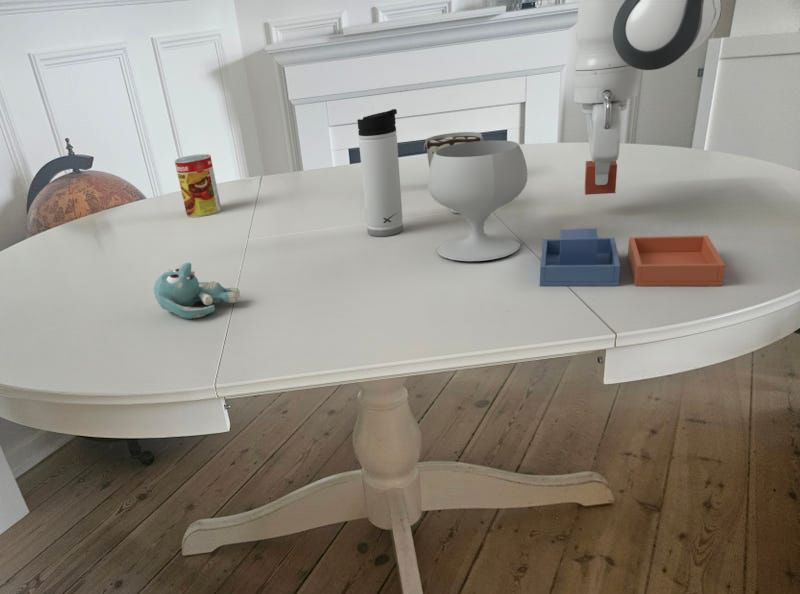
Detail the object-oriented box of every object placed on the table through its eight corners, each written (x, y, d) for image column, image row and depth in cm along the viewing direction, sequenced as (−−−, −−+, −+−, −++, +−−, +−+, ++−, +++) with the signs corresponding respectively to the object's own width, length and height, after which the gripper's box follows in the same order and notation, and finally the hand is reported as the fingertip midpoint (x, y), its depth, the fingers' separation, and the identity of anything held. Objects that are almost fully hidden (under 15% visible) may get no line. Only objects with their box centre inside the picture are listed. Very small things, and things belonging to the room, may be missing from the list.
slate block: (594, 260, 85) (596, 228, 83) (595, 271, 81) (598, 238, 79) (559, 260, 86) (560, 229, 84) (559, 272, 82) (560, 239, 80)
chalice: (540, 257, 90) (543, 148, 83) (443, 271, 90) (439, 164, 83) (507, 231, 102) (508, 134, 95) (422, 243, 102) (417, 148, 95)
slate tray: (613, 255, 87) (614, 237, 86) (618, 286, 78) (620, 266, 76) (542, 256, 90) (543, 239, 89) (539, 286, 81) (540, 266, 80)
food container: (483, 177, 138) (482, 129, 133) (484, 183, 132) (484, 133, 128) (426, 182, 140) (423, 135, 136) (425, 188, 135) (423, 140, 130)
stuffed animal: (229, 281, 81) (138, 272, 82) (229, 331, 85) (142, 322, 85) (246, 254, 91) (165, 247, 91) (246, 300, 94) (167, 293, 95)
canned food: (184, 212, 145) (172, 158, 140) (218, 205, 147) (207, 152, 141) (189, 219, 138) (176, 163, 133) (224, 212, 140) (213, 156, 135)
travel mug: (396, 237, 107) (387, 112, 98) (361, 236, 110) (349, 115, 101) (410, 226, 112) (402, 106, 102) (376, 225, 115) (366, 109, 106)
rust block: (613, 186, 103) (615, 158, 101) (615, 193, 100) (617, 164, 98) (584, 188, 105) (585, 161, 103) (585, 194, 101) (586, 167, 99)
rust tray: (704, 254, 83) (707, 235, 82) (721, 286, 74) (725, 265, 73) (627, 255, 86) (629, 237, 85) (634, 286, 77) (636, 265, 76)
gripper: (634, 92, 86) (626, 194, 92) (623, 77, 102) (617, 164, 109) (584, 98, 88) (580, 197, 94) (581, 82, 105) (578, 167, 111)
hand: (600, 179), depth 101 cm, fingers closed on rust block, 4 cm apart
